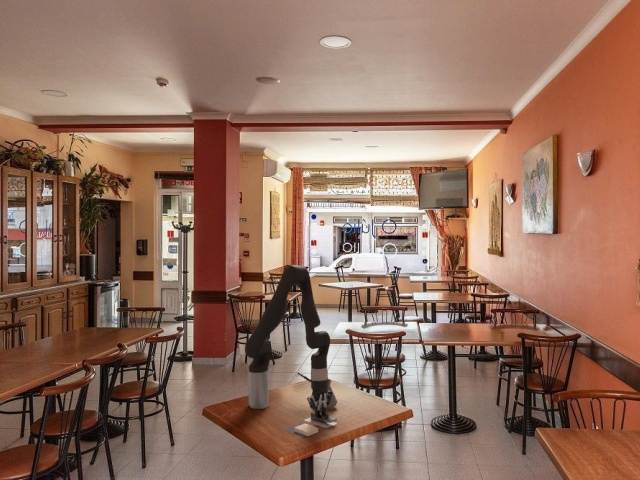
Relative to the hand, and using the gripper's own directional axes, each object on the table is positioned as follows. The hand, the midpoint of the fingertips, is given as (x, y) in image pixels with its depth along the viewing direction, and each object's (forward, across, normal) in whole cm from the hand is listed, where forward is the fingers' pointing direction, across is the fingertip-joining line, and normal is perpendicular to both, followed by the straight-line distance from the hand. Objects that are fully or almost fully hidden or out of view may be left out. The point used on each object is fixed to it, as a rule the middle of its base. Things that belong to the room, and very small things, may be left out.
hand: (320, 416), depth 225 cm
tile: (+1, +12, 0) cm, 12 cm away
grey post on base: (+2, 0, +1) cm, 2 cm away
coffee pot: (+3, -14, -17) cm, 22 cm away
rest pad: (+3, 0, 0) cm, 3 cm away
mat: (+3, +12, +1) cm, 12 cm away
